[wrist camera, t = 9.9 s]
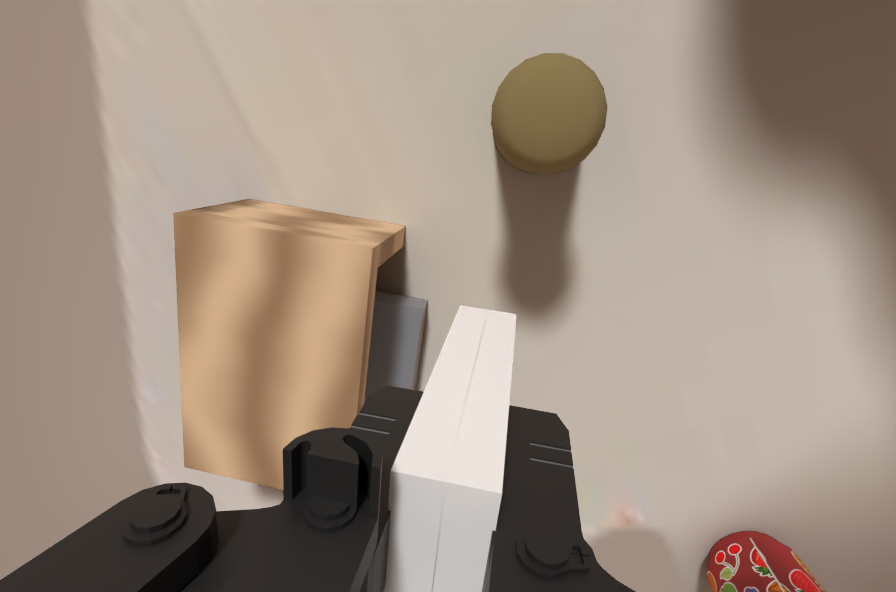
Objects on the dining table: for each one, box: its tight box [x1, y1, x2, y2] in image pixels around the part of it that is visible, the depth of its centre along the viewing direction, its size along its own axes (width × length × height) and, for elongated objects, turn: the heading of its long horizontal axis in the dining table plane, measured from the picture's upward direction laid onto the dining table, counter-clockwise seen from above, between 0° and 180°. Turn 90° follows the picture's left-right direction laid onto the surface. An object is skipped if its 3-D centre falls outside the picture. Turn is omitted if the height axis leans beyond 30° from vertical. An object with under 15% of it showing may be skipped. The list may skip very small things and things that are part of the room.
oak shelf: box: [173, 199, 405, 490], centre depth 33 cm, size 12×18×8 cm, turn 171°
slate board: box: [365, 290, 428, 397], centre depth 36 cm, size 10×8×2 cm
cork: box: [491, 53, 607, 174], centre depth 25 cm, size 6×6×11 cm
